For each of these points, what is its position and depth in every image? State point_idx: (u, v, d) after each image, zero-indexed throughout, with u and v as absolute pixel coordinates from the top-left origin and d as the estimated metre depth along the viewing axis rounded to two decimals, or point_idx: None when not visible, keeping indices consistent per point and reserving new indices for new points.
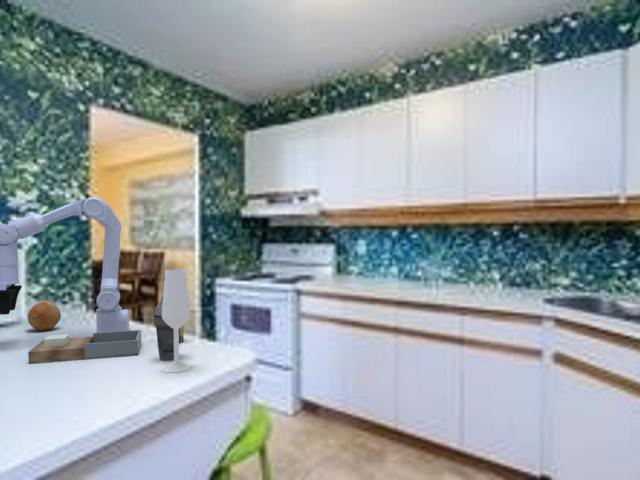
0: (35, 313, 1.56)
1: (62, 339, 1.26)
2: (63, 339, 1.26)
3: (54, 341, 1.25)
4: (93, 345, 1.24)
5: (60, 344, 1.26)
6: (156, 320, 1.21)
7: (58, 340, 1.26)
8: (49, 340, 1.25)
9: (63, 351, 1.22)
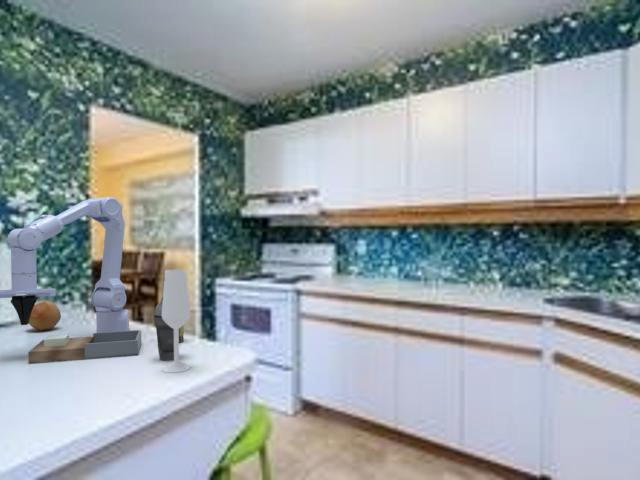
0: (35, 313, 1.56)
1: (62, 339, 1.26)
2: (63, 339, 1.26)
3: (54, 341, 1.25)
4: (93, 345, 1.24)
5: (60, 344, 1.26)
6: (156, 320, 1.21)
7: (58, 340, 1.26)
8: (49, 340, 1.25)
9: (63, 351, 1.22)
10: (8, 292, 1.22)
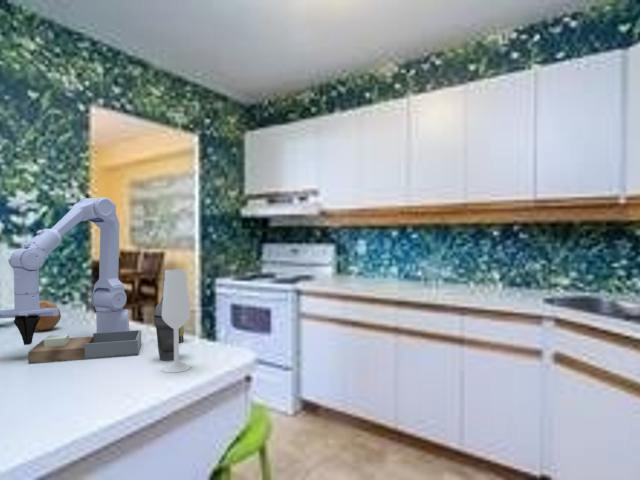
0: None
1: (62, 339, 1.26)
2: (63, 339, 1.26)
3: (54, 341, 1.25)
4: (93, 345, 1.24)
5: (60, 344, 1.26)
6: (156, 320, 1.21)
7: (58, 340, 1.26)
8: (49, 340, 1.25)
9: (63, 351, 1.22)
10: (11, 312, 1.23)
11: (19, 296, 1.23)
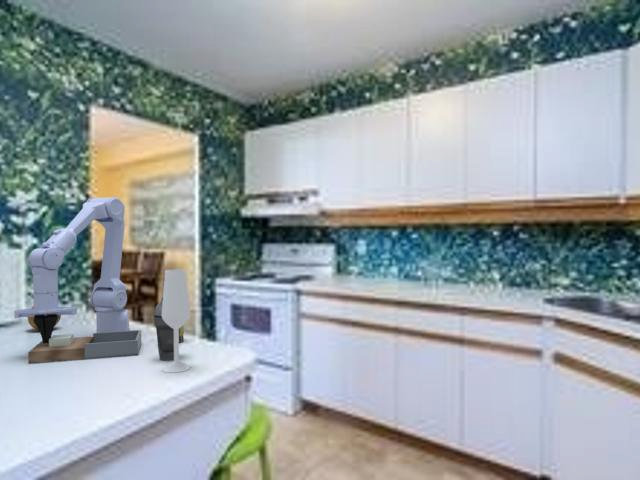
0: None
1: (67, 339, 1.26)
2: (68, 339, 1.26)
3: (58, 341, 1.26)
4: (93, 345, 1.24)
5: (65, 344, 1.26)
6: (156, 320, 1.21)
7: (63, 340, 1.26)
8: (54, 340, 1.25)
9: (63, 351, 1.22)
10: (31, 311, 1.24)
11: (38, 295, 1.24)
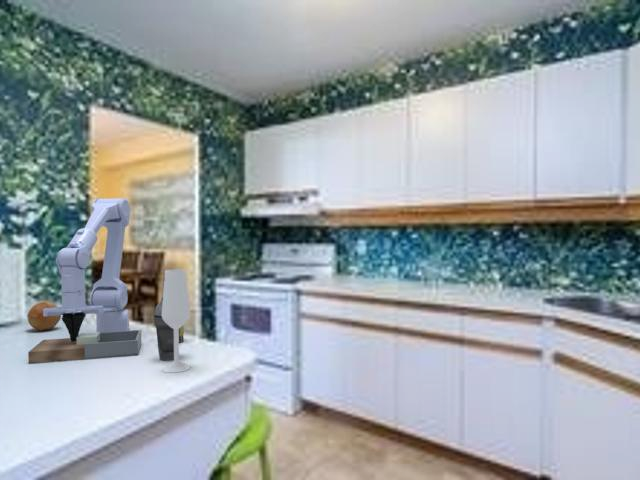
0: (35, 313, 1.56)
1: (94, 337, 1.28)
2: (95, 337, 1.28)
3: (86, 339, 1.27)
4: (93, 345, 1.24)
5: (92, 342, 1.28)
6: (156, 320, 1.21)
7: (90, 338, 1.28)
8: (81, 338, 1.27)
9: (63, 351, 1.22)
10: (59, 310, 1.26)
11: (67, 294, 1.26)
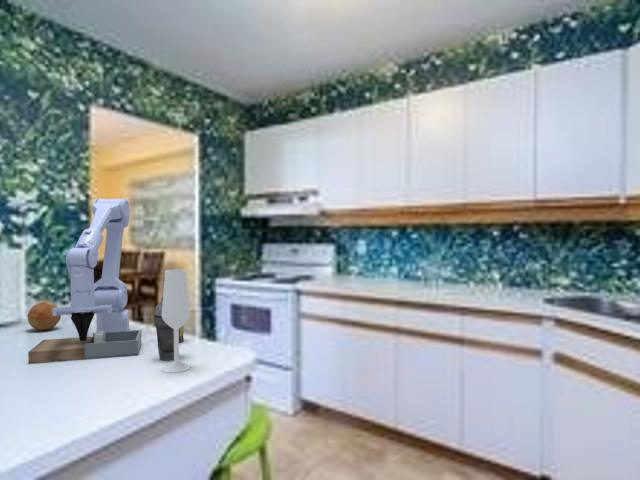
0: (35, 313, 1.56)
1: None
2: None
3: None
4: (93, 345, 1.24)
5: None
6: (156, 320, 1.21)
7: None
8: (100, 339, 1.28)
9: (63, 351, 1.22)
10: (68, 309, 1.26)
11: (76, 294, 1.26)
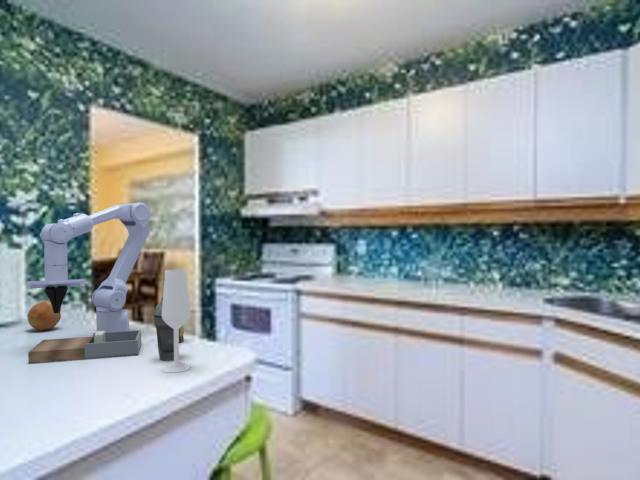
0: (35, 313, 1.56)
1: None
2: None
3: None
4: (93, 345, 1.24)
5: None
6: (156, 320, 1.21)
7: None
8: (100, 339, 1.28)
9: (63, 351, 1.22)
10: (42, 282, 1.31)
11: (50, 267, 1.31)
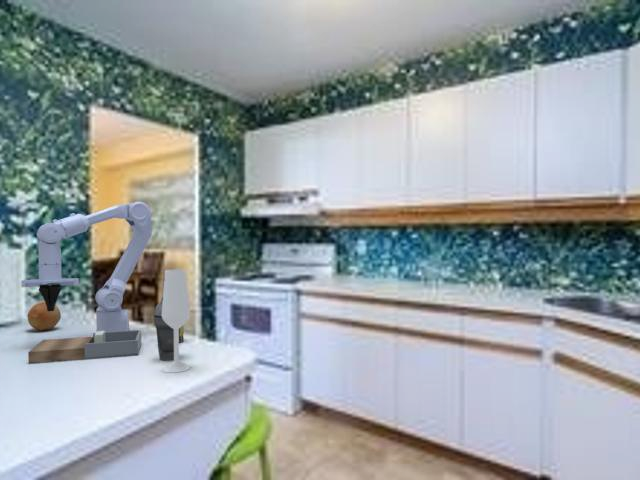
0: (35, 313, 1.56)
1: None
2: None
3: None
4: (93, 345, 1.24)
5: None
6: (156, 320, 1.21)
7: None
8: (100, 339, 1.28)
9: (63, 351, 1.22)
10: (36, 281, 1.35)
11: (43, 266, 1.35)
